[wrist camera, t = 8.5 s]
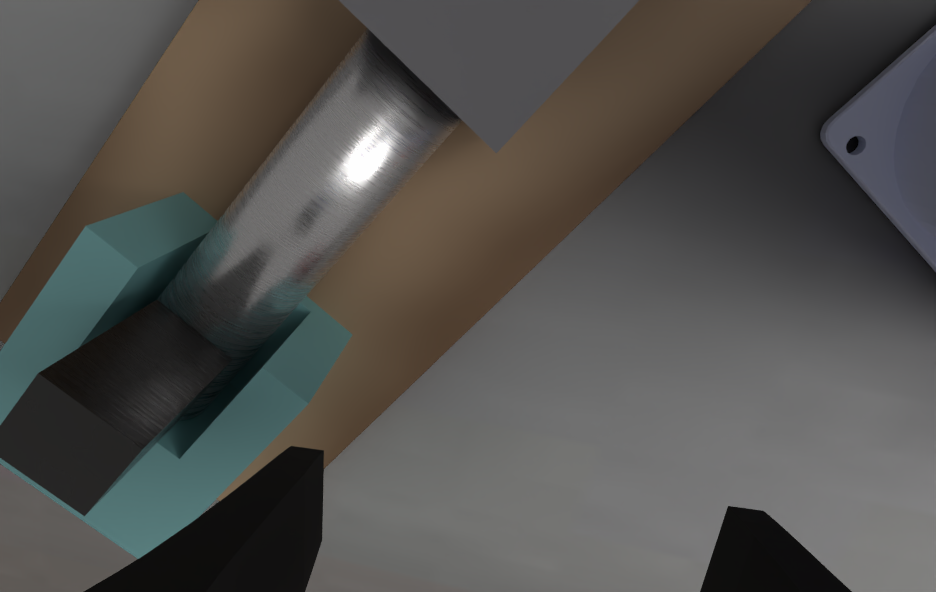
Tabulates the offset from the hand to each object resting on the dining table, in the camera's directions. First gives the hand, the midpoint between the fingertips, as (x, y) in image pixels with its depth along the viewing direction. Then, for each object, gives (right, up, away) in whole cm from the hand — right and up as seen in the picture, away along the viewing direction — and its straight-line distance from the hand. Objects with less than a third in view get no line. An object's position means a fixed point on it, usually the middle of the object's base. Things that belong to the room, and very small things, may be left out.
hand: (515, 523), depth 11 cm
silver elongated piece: (-5, +7, +6) cm, 11 cm away
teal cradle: (-10, +2, +9) cm, 14 cm away
